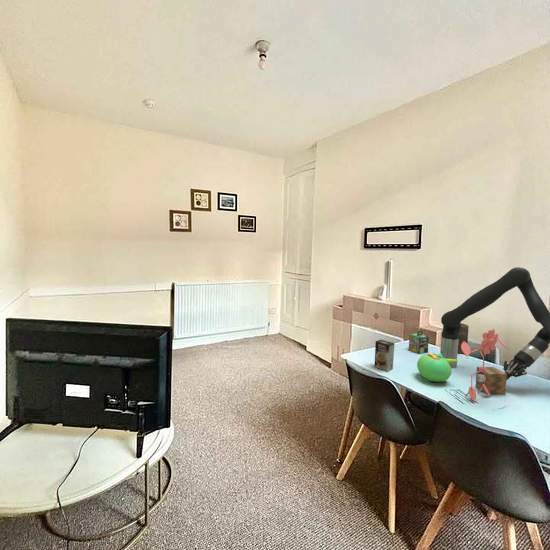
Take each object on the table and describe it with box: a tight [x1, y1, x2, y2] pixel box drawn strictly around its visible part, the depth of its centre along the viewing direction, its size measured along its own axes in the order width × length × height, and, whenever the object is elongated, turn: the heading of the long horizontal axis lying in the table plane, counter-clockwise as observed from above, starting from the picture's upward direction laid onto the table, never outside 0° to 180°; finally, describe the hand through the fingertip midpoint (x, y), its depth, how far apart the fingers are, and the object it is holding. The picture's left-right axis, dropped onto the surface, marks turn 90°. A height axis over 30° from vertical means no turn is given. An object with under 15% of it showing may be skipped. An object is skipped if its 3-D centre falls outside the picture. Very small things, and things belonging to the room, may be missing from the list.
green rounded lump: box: [416, 352, 459, 383], centre depth 172 cm, size 18×17×15 cm
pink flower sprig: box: [456, 328, 508, 410], centre depth 147 cm, size 15×26×35 cm, turn 113°
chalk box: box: [408, 330, 430, 355], centre depth 218 cm, size 9×9×15 cm
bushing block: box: [474, 366, 508, 396], centre depth 160 cm, size 9×9×11 cm
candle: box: [457, 322, 469, 354], centre depth 216 cm, size 8×7×20 cm
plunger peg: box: [477, 374, 486, 382], centre depth 160 cm, size 12×6×6 cm, turn 92°
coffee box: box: [374, 339, 395, 373], centre depth 188 cm, size 9×6×16 cm
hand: (502, 379), depth 160 cm, fingers closed
